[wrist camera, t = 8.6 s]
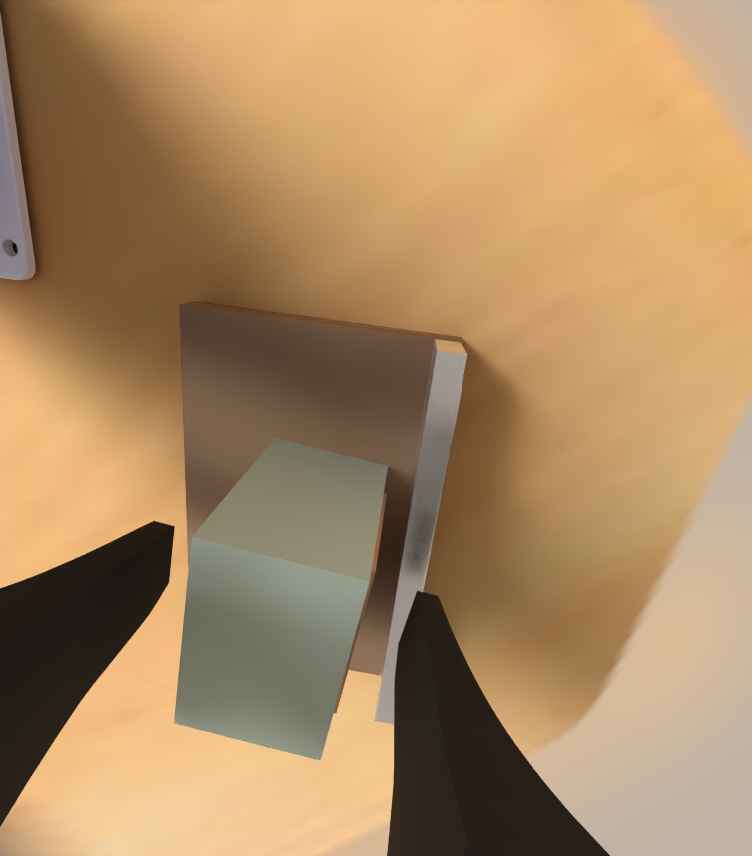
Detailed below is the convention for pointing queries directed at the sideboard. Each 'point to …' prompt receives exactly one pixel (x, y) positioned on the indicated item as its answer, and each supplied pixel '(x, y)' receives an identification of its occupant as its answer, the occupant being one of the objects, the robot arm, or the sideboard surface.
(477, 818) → the robot arm
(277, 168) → the sideboard surface
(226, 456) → the shelf board
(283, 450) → the product carton
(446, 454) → the rail
